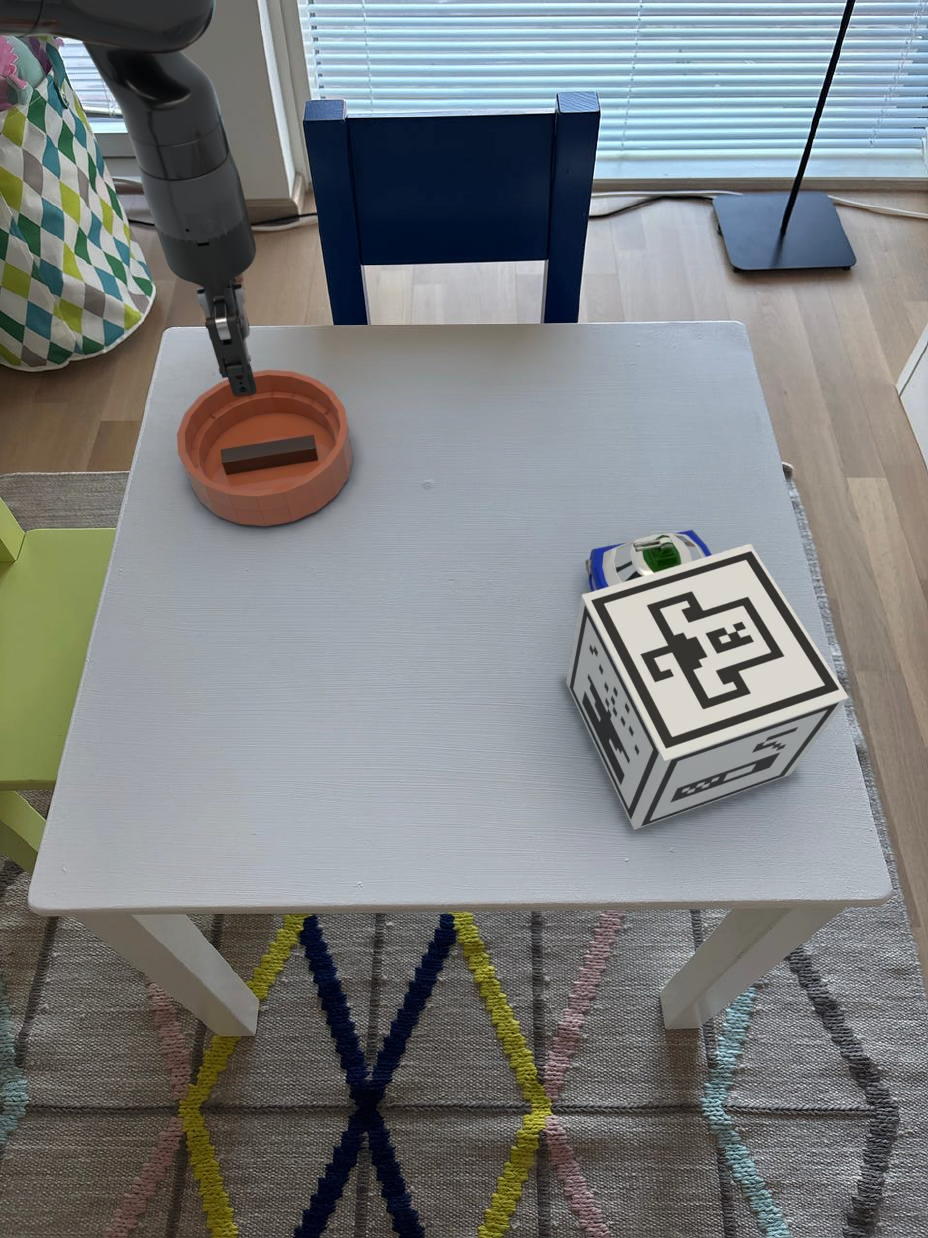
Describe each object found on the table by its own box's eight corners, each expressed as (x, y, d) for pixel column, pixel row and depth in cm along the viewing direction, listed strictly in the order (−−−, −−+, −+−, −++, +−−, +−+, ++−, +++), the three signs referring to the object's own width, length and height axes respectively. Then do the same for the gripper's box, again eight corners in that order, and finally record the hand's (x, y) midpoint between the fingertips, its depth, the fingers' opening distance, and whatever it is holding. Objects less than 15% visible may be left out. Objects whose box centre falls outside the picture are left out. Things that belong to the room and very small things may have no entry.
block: (790, 774, 80) (848, 697, 67) (634, 830, 78) (664, 760, 65) (710, 636, 88) (750, 543, 75) (566, 683, 85) (581, 595, 73)
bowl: (195, 541, 95) (180, 508, 90) (188, 419, 104) (174, 383, 99) (363, 513, 96) (357, 479, 92) (342, 395, 105) (335, 359, 101)
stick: (318, 460, 99) (315, 447, 98) (226, 475, 98) (221, 462, 97) (316, 446, 100) (313, 434, 99) (224, 461, 100) (220, 448, 98)
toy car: (577, 571, 92) (586, 512, 84) (690, 548, 93) (710, 488, 85) (605, 649, 87) (618, 594, 79) (723, 624, 88) (748, 568, 80)
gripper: (149, 162, 77) (199, 318, 91) (153, 269, 70) (206, 421, 83) (239, 151, 78) (274, 308, 91) (252, 256, 70) (288, 409, 84)
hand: (242, 362), depth 87 cm, fingers open, 8 cm apart
